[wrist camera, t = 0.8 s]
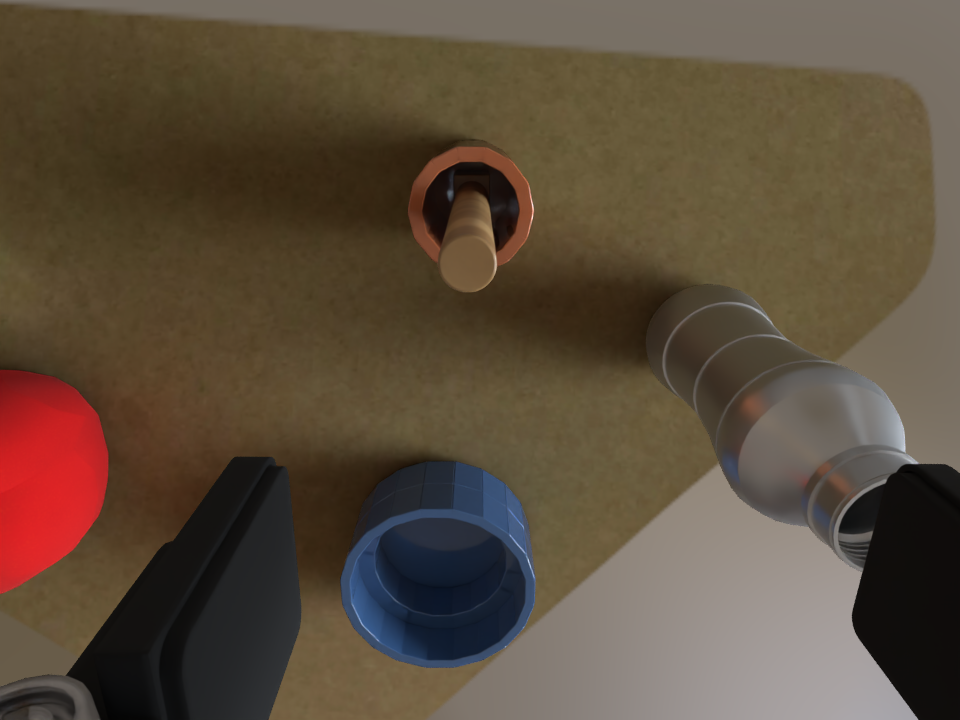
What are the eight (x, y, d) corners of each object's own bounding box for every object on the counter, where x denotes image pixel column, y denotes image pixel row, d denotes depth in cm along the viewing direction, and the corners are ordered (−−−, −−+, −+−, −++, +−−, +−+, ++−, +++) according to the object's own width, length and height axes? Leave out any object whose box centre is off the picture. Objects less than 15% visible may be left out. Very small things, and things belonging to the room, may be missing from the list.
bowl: (352, 456, 42) (333, 509, 36) (529, 456, 42) (538, 508, 36) (363, 600, 45) (347, 668, 40) (525, 600, 46) (532, 667, 40)
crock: (422, 140, 35) (404, 146, 27) (521, 140, 35) (536, 146, 27) (425, 237, 37) (409, 272, 28) (519, 237, 37) (532, 272, 28)
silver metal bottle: (762, 356, 39) (1022, 572, 21) (653, 396, 40) (808, 637, 21) (735, 257, 37) (995, 397, 19) (621, 301, 38) (760, 477, 19)
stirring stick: (455, 169, 35) (433, 222, 17) (489, 170, 35) (501, 223, 17) (455, 211, 36) (434, 304, 18) (488, 211, 36) (500, 304, 18)
